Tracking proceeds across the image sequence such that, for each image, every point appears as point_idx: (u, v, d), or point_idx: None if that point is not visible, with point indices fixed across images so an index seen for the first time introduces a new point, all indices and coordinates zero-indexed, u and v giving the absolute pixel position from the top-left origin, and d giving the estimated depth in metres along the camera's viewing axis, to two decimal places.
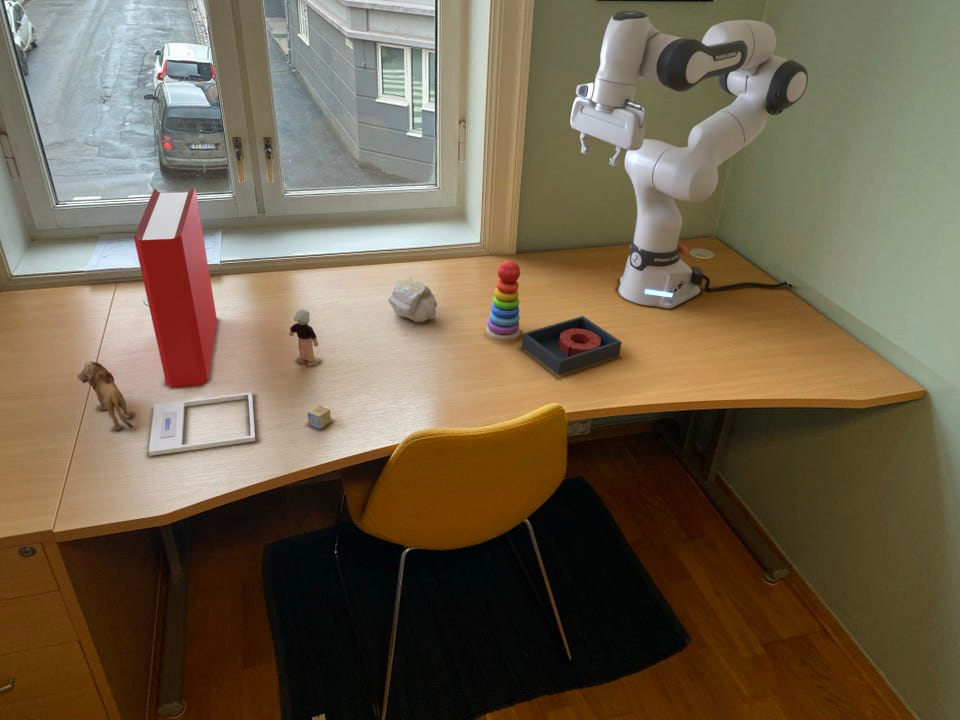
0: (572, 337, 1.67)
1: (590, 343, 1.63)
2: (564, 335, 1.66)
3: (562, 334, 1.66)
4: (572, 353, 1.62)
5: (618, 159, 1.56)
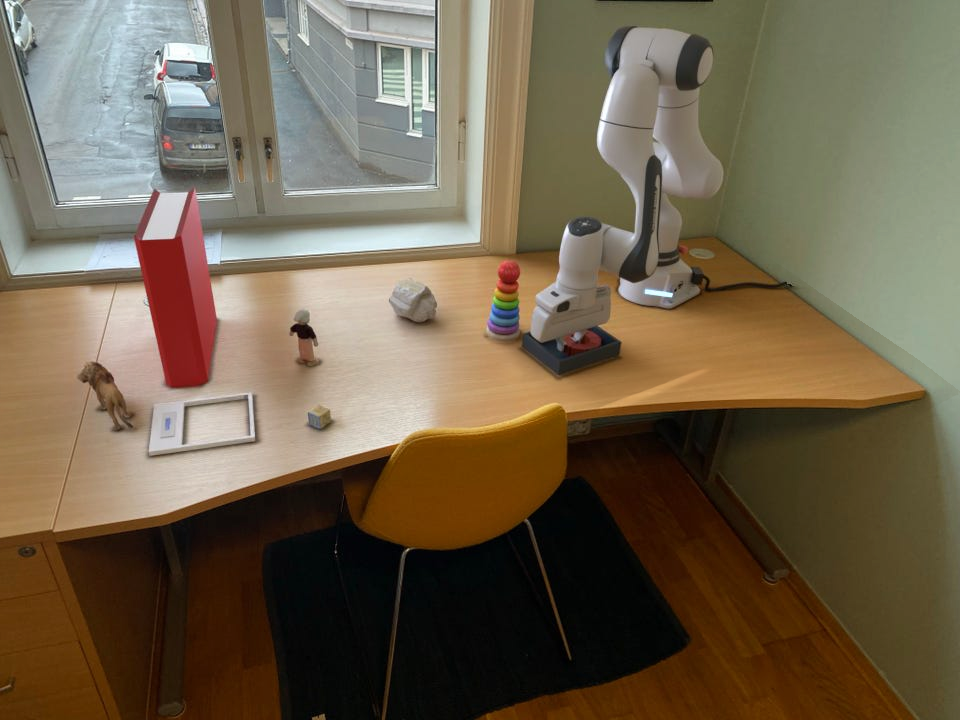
0: None
1: (590, 343, 1.63)
2: None
3: None
4: (572, 353, 1.62)
5: None
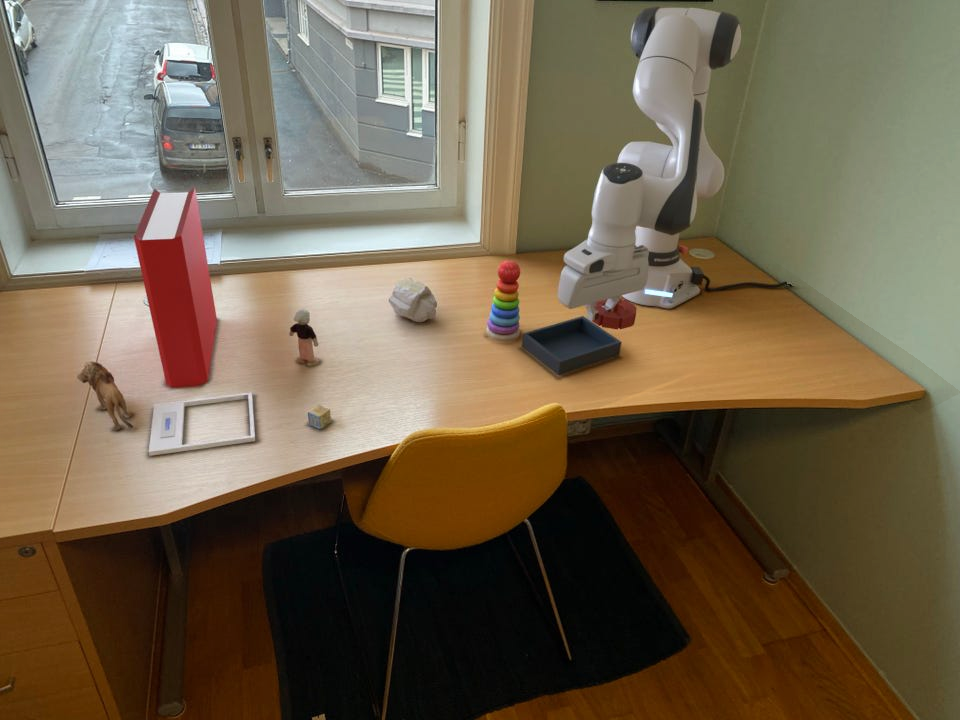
0: None
1: (624, 312, 1.43)
2: None
3: None
4: (604, 323, 1.42)
5: None
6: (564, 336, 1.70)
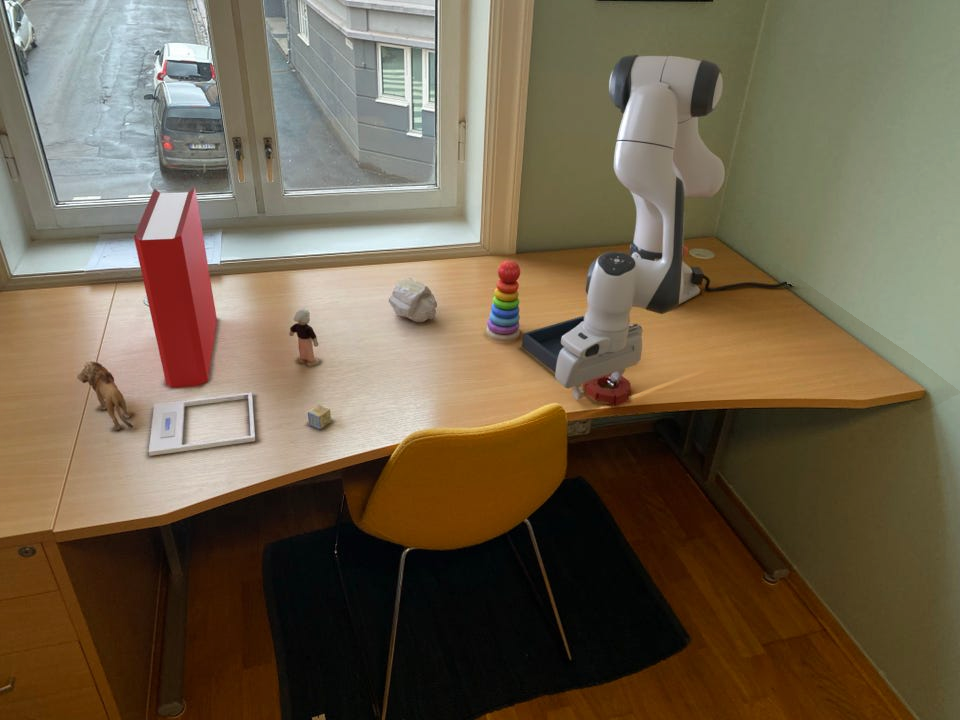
0: (599, 381, 1.53)
1: (619, 389, 1.50)
2: None
3: None
4: (599, 400, 1.49)
5: None
6: None
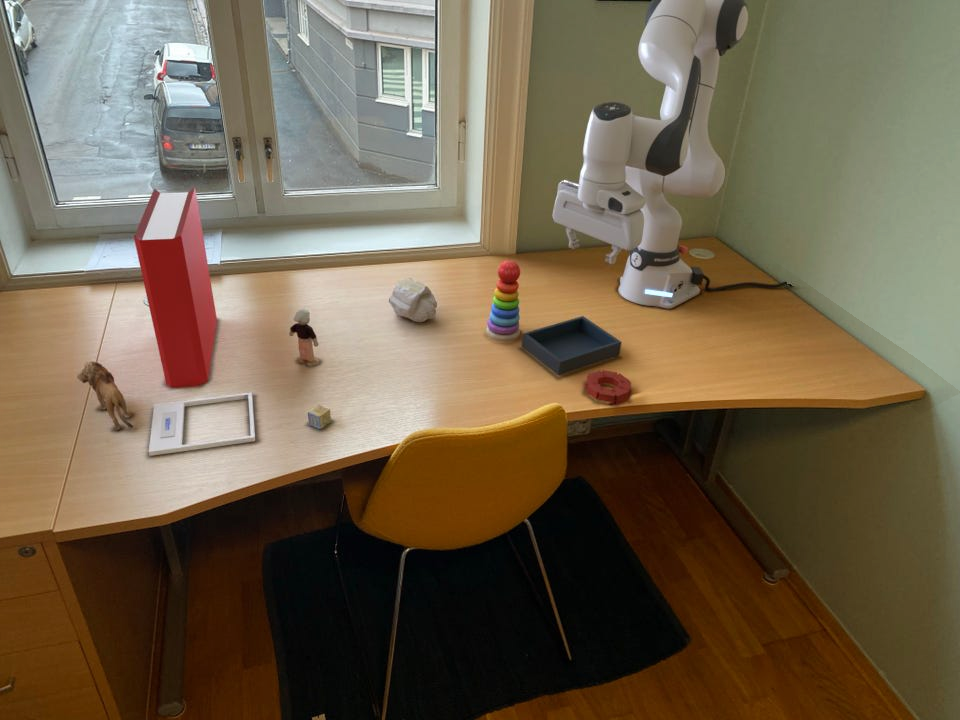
0: (599, 380, 1.53)
1: (619, 388, 1.50)
2: (591, 378, 1.53)
3: (588, 377, 1.53)
4: (600, 399, 1.49)
5: None
6: (564, 336, 1.70)
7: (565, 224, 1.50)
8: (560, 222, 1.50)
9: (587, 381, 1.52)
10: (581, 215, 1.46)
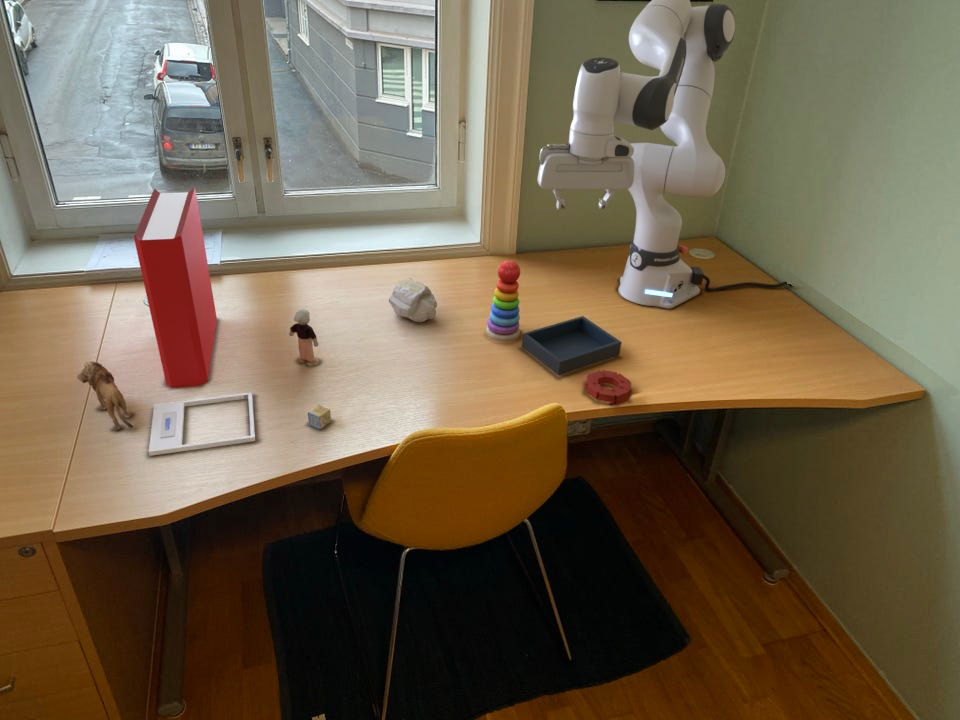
0: (599, 380, 1.53)
1: (619, 388, 1.50)
2: (591, 378, 1.53)
3: (588, 377, 1.53)
4: (600, 399, 1.49)
5: (557, 201, 1.55)
6: (564, 336, 1.70)
7: (558, 187, 1.51)
8: (552, 187, 1.51)
9: (587, 381, 1.52)
10: (577, 172, 1.50)
